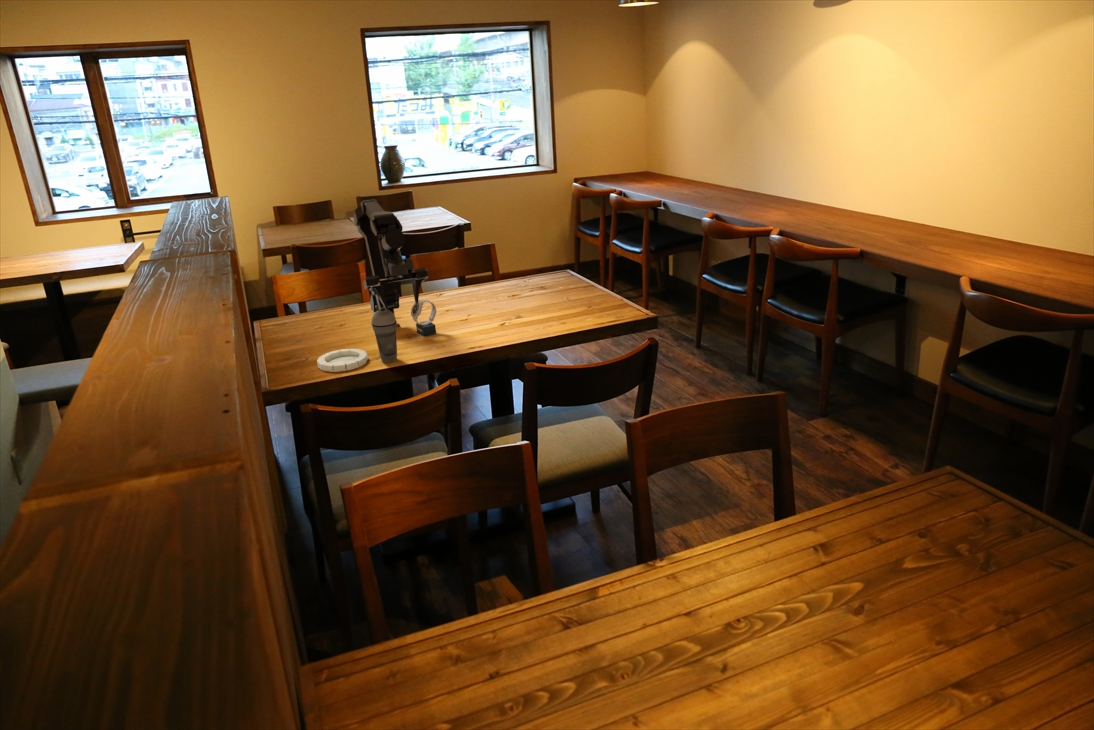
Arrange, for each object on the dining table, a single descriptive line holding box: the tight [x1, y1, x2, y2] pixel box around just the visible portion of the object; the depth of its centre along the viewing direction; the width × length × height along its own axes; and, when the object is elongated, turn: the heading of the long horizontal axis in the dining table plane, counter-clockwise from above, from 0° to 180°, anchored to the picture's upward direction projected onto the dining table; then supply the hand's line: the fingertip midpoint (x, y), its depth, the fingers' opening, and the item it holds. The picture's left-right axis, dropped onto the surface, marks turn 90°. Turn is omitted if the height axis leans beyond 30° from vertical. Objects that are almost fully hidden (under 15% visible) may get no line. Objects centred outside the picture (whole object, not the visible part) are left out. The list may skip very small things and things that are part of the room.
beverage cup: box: [370, 295, 398, 364], centre depth 214 cm, size 7×7×20 cm
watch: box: [410, 299, 437, 338], centre depth 237 cm, size 6×8×11 cm
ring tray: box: [316, 348, 369, 373], centre depth 217 cm, size 14×14×2 cm
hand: (402, 306), depth 220 cm, fingers open, 9 cm apart
